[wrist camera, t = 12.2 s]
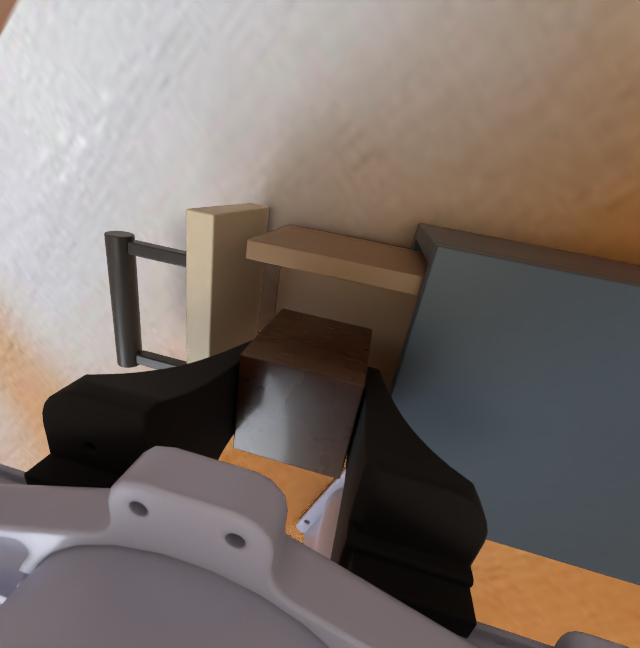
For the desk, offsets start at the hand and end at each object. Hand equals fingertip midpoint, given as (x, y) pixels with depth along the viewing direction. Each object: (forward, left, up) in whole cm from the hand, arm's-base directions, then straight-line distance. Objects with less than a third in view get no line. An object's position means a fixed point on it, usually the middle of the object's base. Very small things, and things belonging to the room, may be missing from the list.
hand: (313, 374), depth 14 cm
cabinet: (+3, -9, -8) cm, 12 cm away
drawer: (-1, +3, -7) cm, 8 cm away
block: (0, 0, -1) cm, 1 cm away
